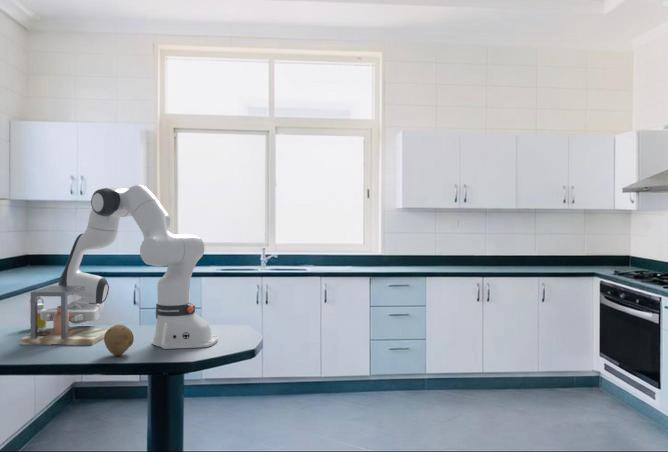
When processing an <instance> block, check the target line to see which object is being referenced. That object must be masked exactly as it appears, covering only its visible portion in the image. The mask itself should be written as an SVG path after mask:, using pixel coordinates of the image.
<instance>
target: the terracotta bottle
mask: <svg viewBox="0 0 668 452" xmlns="http://www.w3.org/2000/svg"><path fill="white" fill-rule="evenodd" d="M56 308H57V312H56V313H54V314H53V321H52V322H53V325H52V327H53V332H54V335H61V305H58V306H57V307H56ZM69 328H70V321H69V312H68V333H69Z"/></svg>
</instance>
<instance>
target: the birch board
mask: <svg viewBox="0 0 668 452" xmlns="http://www.w3.org/2000/svg"><path fill="white" fill-rule="evenodd" d="M108 329H109V328H81V327H80V328H75V327H74V328H72V327H71V328H70V327H69V333H68V338H67V339H61V335H54V332H53V328H51V327H50V328H49V327H46V328H45V329H41V330H38V338H36V339H31V334H29V335H26V336H24V337H22V338H20V345H34V346H35V345H42V346H43V345H44V346H45V345H47V346H49V345H50V346H51V344H66V345H67V346H69V345H70V346H71V345H73V346H74V345H75V346H80V345H81V346H83V345H84V346H93V345H96V344H97V343H98V342H100V341H102V340H104V335H105V333H106V331H107V330H108ZM66 345H65V346H66Z"/></svg>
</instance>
